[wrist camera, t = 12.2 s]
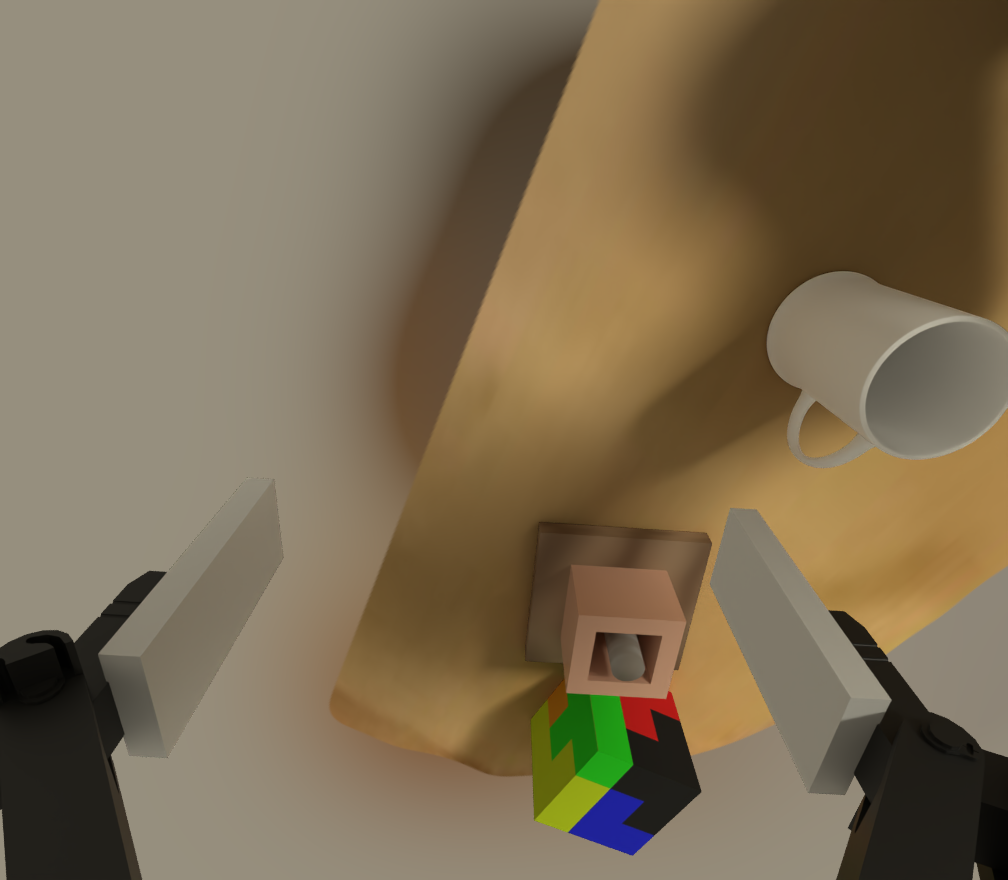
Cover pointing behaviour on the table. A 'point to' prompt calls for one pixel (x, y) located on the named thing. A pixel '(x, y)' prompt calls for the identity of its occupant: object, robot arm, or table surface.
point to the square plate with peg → (608, 549)
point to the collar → (620, 629)
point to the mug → (888, 367)
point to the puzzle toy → (610, 767)
